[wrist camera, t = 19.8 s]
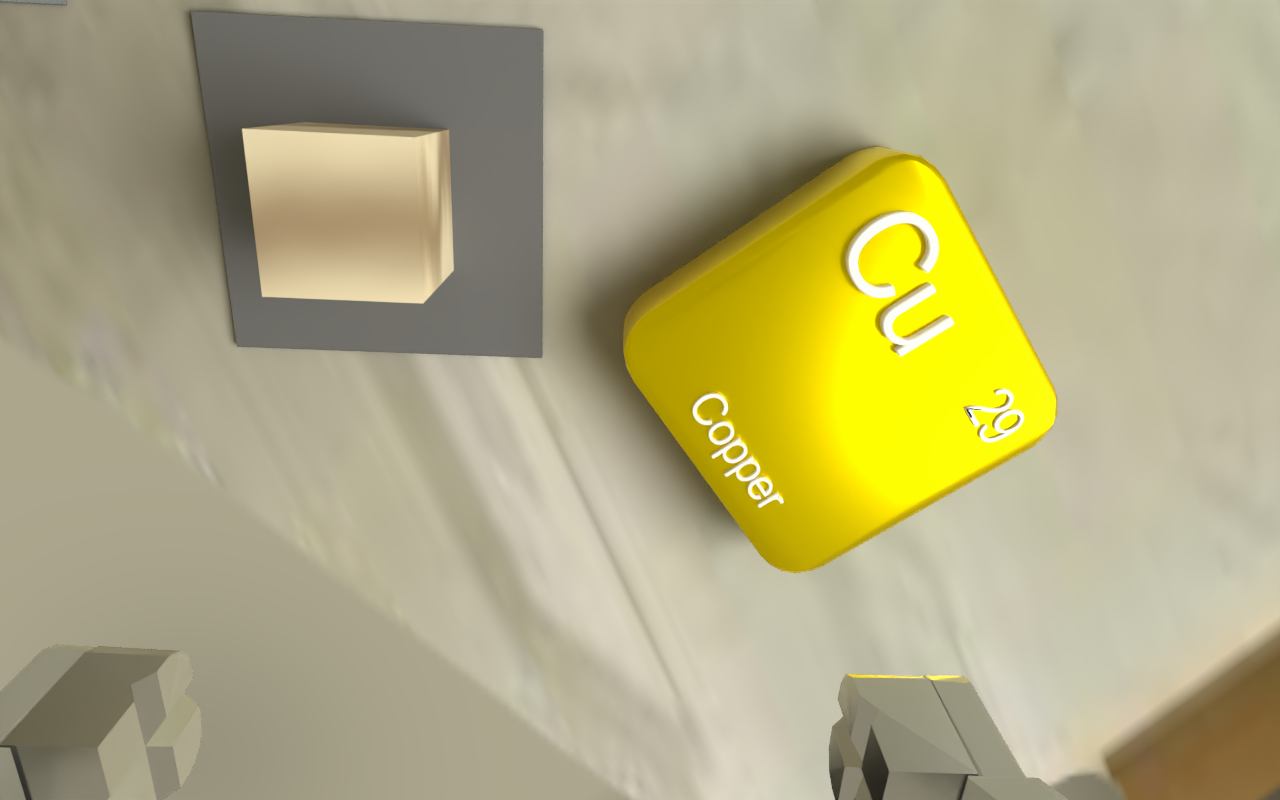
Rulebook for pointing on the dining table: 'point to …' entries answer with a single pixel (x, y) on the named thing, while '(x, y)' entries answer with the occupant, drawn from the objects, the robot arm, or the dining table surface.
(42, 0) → the grey flat slab
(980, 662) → the dining table surface
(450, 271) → the light wood cube
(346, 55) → the pad
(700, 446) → the element tile
